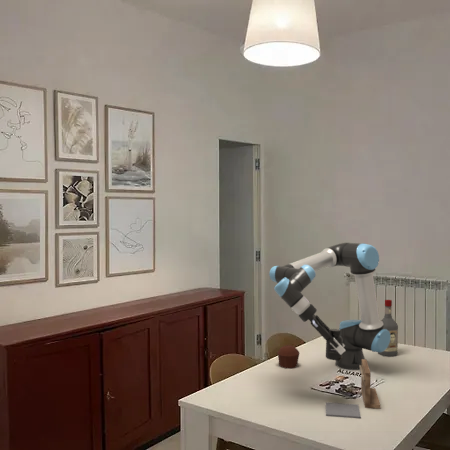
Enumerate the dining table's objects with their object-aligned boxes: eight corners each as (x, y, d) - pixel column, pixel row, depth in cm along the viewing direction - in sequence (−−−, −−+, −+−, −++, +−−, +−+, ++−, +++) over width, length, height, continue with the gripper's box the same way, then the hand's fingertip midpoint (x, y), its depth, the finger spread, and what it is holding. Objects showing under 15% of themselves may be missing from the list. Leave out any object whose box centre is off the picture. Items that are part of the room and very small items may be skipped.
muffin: (285, 361, 279) (285, 342, 279) (303, 365, 272) (303, 345, 272) (272, 366, 270) (272, 346, 270) (291, 370, 263) (291, 350, 263)
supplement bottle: (332, 361, 219) (333, 332, 218) (322, 357, 225) (322, 328, 224) (345, 359, 222) (346, 330, 221) (335, 355, 228) (335, 327, 227)
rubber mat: (326, 415, 206) (326, 414, 206) (325, 403, 219) (325, 402, 219) (360, 418, 204) (360, 416, 204) (358, 405, 216) (358, 404, 216)
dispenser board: (362, 407, 215) (362, 372, 214) (358, 390, 235) (359, 359, 234) (380, 408, 214) (380, 374, 213) (375, 391, 233) (375, 360, 233)
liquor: (375, 352, 297) (376, 299, 296) (389, 351, 299) (390, 298, 298) (385, 357, 288) (386, 302, 287) (399, 356, 291) (400, 301, 290)
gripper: (299, 310, 235) (335, 349, 233) (296, 319, 216) (336, 362, 213) (311, 299, 234) (348, 338, 231) (310, 307, 215) (350, 350, 212)
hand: (342, 350), depth 222 cm, fingers closed on supplement bottle, 7 cm apart
